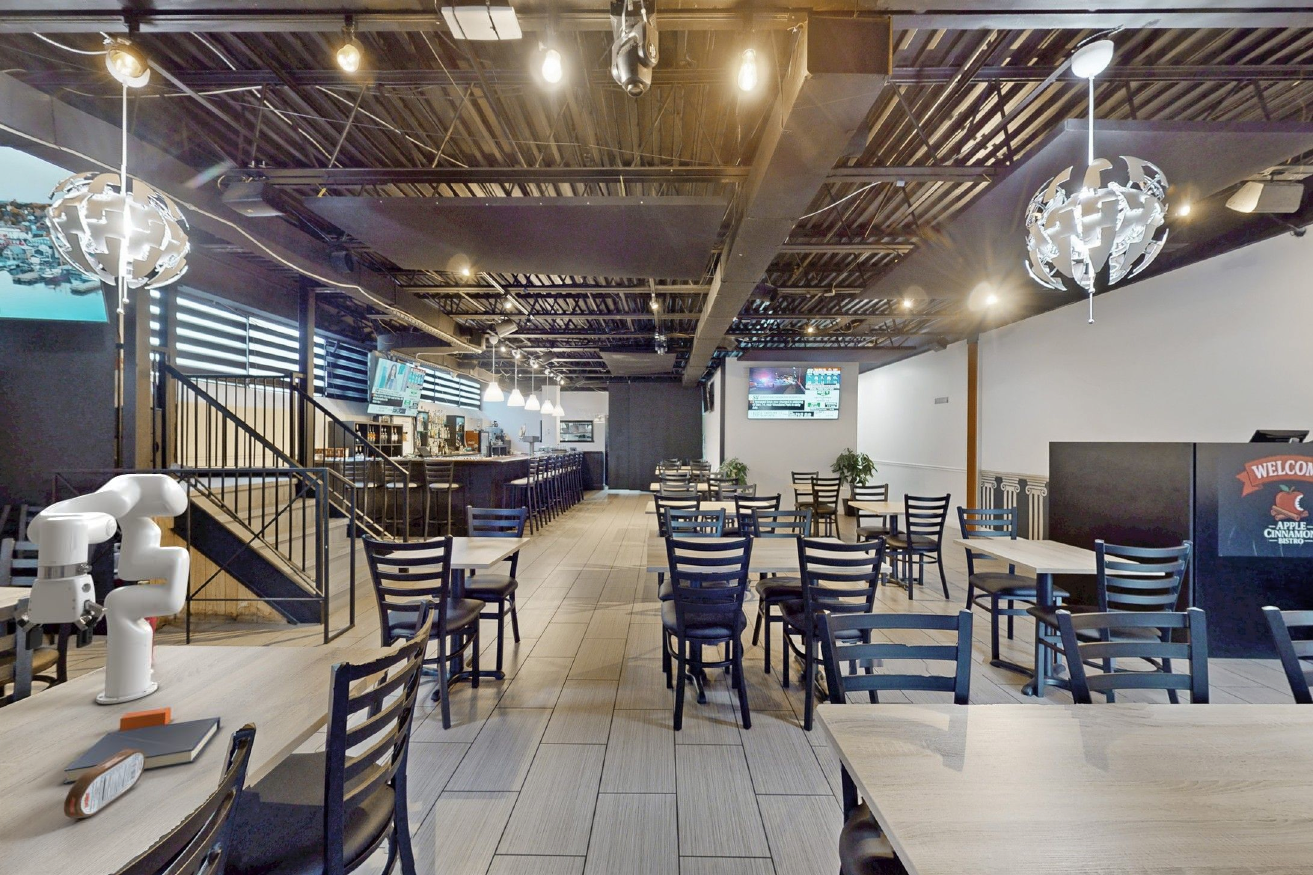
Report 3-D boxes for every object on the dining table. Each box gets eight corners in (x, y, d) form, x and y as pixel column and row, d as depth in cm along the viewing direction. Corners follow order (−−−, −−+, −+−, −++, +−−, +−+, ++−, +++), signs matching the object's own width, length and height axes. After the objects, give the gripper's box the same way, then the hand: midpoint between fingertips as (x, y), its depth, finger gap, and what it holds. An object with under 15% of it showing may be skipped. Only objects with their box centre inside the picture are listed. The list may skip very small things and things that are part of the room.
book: (107, 745, 127) (108, 732, 127) (220, 728, 136) (220, 716, 136) (63, 784, 112) (64, 770, 112) (192, 762, 121) (193, 749, 121)
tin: (132, 779, 114) (134, 740, 114) (148, 779, 114) (150, 740, 115) (60, 828, 99) (62, 783, 99) (78, 828, 99) (80, 782, 100)
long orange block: (126, 727, 136) (126, 713, 136) (170, 720, 139) (171, 707, 139) (119, 732, 133) (120, 718, 133) (165, 726, 136) (165, 712, 136)
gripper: (120, 567, 125) (116, 639, 124) (34, 568, 122) (30, 642, 121) (92, 574, 118) (88, 651, 117) (0, 576, 115) (-5, 655, 114)
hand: (59, 646), depth 119 cm, fingers open, 9 cm apart
